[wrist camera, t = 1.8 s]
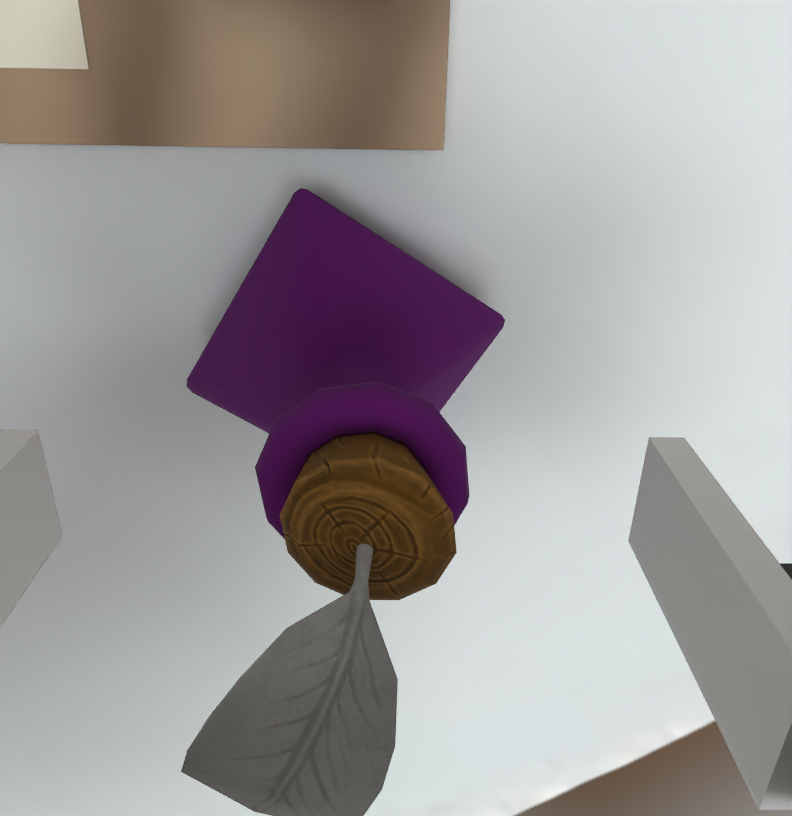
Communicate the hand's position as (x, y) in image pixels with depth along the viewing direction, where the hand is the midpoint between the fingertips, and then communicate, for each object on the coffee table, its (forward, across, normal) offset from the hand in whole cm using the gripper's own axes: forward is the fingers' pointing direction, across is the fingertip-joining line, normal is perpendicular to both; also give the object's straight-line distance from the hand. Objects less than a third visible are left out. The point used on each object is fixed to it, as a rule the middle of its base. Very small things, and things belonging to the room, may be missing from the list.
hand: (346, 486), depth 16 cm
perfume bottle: (+11, -1, 0) cm, 11 cm away
